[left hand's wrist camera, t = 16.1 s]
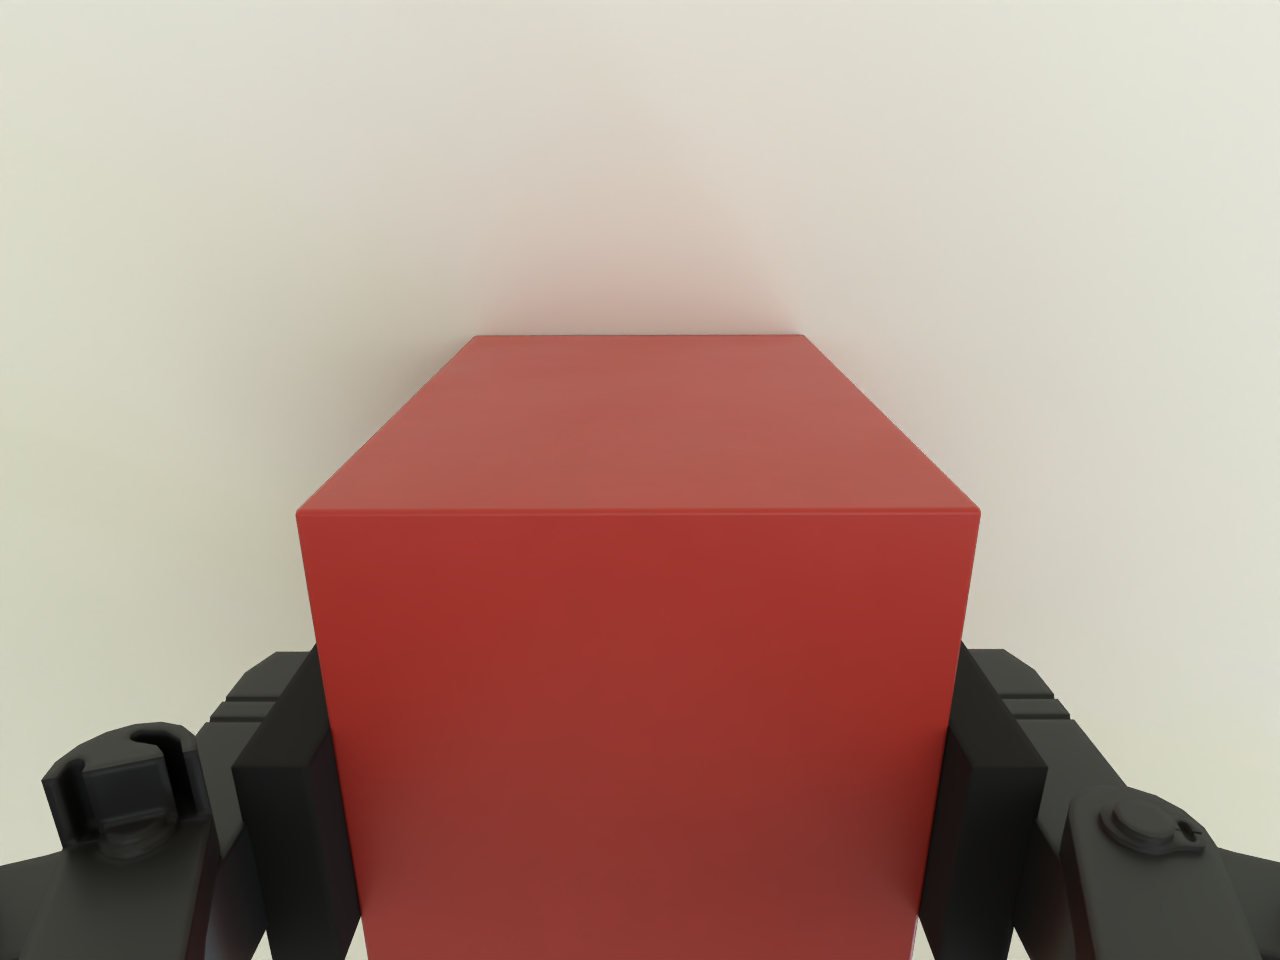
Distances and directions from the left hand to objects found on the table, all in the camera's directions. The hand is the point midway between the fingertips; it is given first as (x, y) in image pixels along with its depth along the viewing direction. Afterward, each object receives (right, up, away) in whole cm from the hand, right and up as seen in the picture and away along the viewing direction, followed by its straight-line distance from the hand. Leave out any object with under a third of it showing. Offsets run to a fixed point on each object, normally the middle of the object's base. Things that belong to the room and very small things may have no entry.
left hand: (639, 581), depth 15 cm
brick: (0, +1, +3) cm, 3 cm away
